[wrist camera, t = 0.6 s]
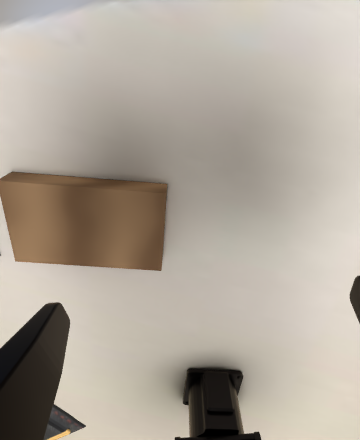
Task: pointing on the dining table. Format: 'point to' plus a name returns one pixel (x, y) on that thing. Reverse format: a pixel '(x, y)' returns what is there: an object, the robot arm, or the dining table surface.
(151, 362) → the dining table surface
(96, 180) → the walnut slab
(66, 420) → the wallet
